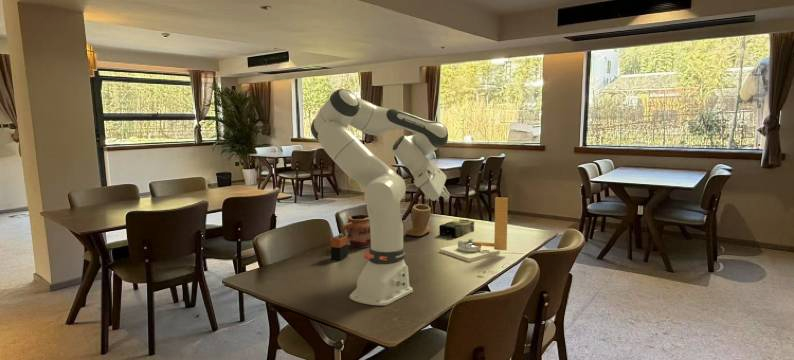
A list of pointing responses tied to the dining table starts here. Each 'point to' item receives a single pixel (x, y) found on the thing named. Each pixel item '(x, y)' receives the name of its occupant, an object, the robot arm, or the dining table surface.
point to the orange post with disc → (500, 230)
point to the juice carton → (457, 227)
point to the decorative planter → (358, 231)
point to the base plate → (469, 253)
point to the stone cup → (419, 220)
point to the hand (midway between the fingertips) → (448, 197)
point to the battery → (339, 247)
